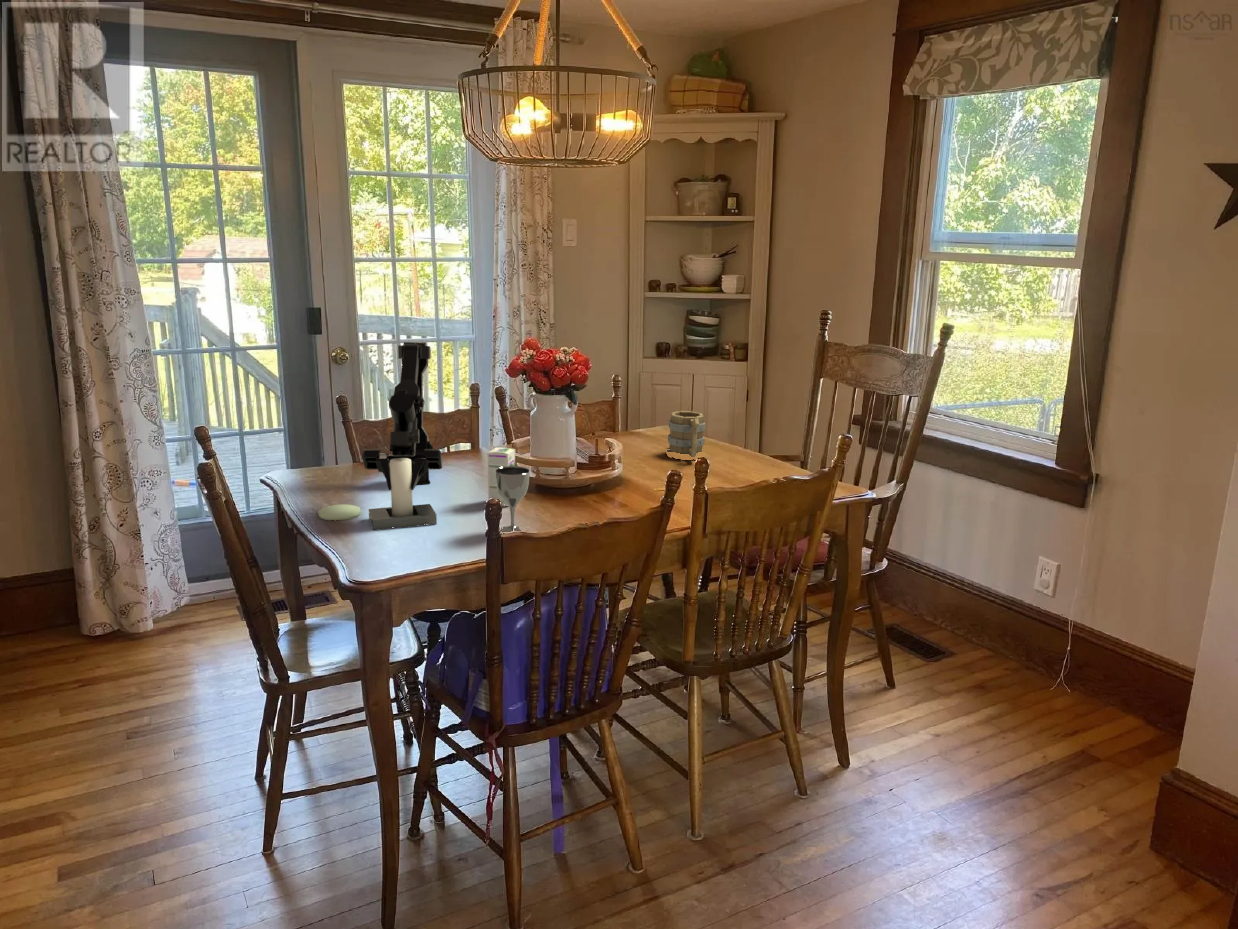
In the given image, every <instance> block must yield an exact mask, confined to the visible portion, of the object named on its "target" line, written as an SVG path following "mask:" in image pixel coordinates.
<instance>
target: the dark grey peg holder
mask: <svg viewBox="0 0 1238 929" xmlns="http://www.w3.org/2000/svg"><path fill="white" fill-rule="evenodd" d="M437 518H438V516H437V513H436V511H435V510H434V508H433V507H432V505H431V504H430V503H425V504H416V505H415V504H413V515H411V516H400V517H392V506H389V507H379V508H378V507H377V508H368V520H369V522H370V525H371V527H373V528H372V530H373V531H376V530H375V529H380V530H386V529H385V528H391V529H393V528H392V527H402V528H409V527H408V526H413V527H418V526H417V525H424V524H425V525H424V526H427V525H426V524H435V525H438V523H437V522H438V521H437V520H438V519H437Z"/></svg>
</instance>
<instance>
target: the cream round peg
mask: <svg viewBox="0 0 1238 929" xmlns="http://www.w3.org/2000/svg"><path fill="white" fill-rule="evenodd" d="M389 466H390V477H391V490H390V496H391V497H390V499H391V500H390V502H391V507H392V517H400V516H411V515H413V505H414V504H413V502H414V501H413V490H411V482H412V469H411V459H408V458H395V459H391V460H390V463H389Z"/></svg>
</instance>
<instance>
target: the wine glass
mask: <svg viewBox="0 0 1238 929" xmlns="http://www.w3.org/2000/svg"><path fill="white" fill-rule="evenodd" d="M529 483H530V469H529V468H527V467H525V466H518V465H515V466H505V467H500V468H498V469H496V484H497V489H498V492H499V494H500V496H501V497H502V498H503V499H504V500H505V501H506V502H507V504H508V506H509V507H508V508H509V512H510V513H509V514H510V526H509V525H504V526H500V527H501V531H502V532H511V531H521V530H520V529H519V526H520V525H517V526H515V513H516V509H517V508H516V507H517V506H518V504H519V502H520V501H521V500H522V499H523V498H524V497H525V495H526V494H527V493H528V488H529V485H530V484H529ZM502 527H503V529H502Z"/></svg>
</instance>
